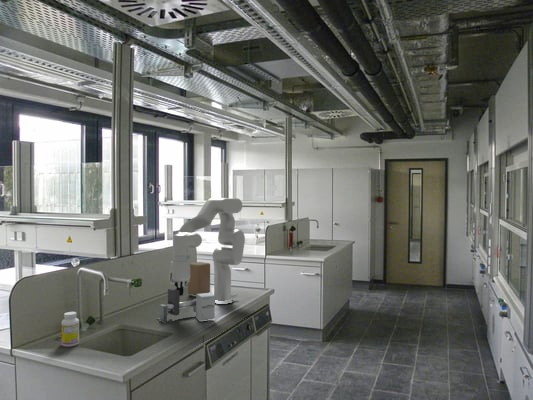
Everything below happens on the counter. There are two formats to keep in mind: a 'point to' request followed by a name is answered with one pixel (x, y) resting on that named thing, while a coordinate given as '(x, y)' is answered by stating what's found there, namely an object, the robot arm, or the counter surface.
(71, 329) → the supplement bottle
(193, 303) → the pipe rig
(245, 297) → the counter surface
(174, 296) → the grey upright panel
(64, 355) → the counter surface
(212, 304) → the supplement box
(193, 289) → the block
